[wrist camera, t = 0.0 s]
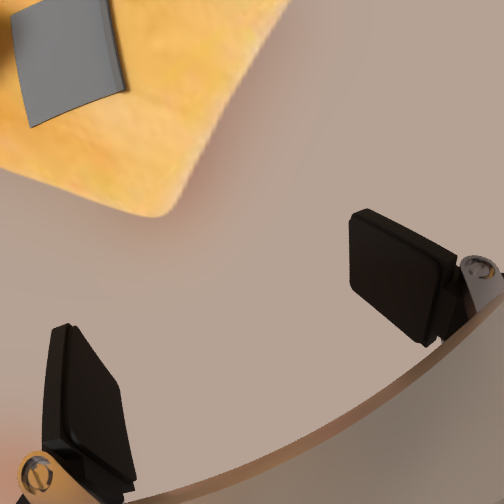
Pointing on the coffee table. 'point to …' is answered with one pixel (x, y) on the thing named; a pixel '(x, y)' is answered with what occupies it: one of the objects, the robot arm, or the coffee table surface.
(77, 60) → the slate mat
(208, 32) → the coffee table surface
